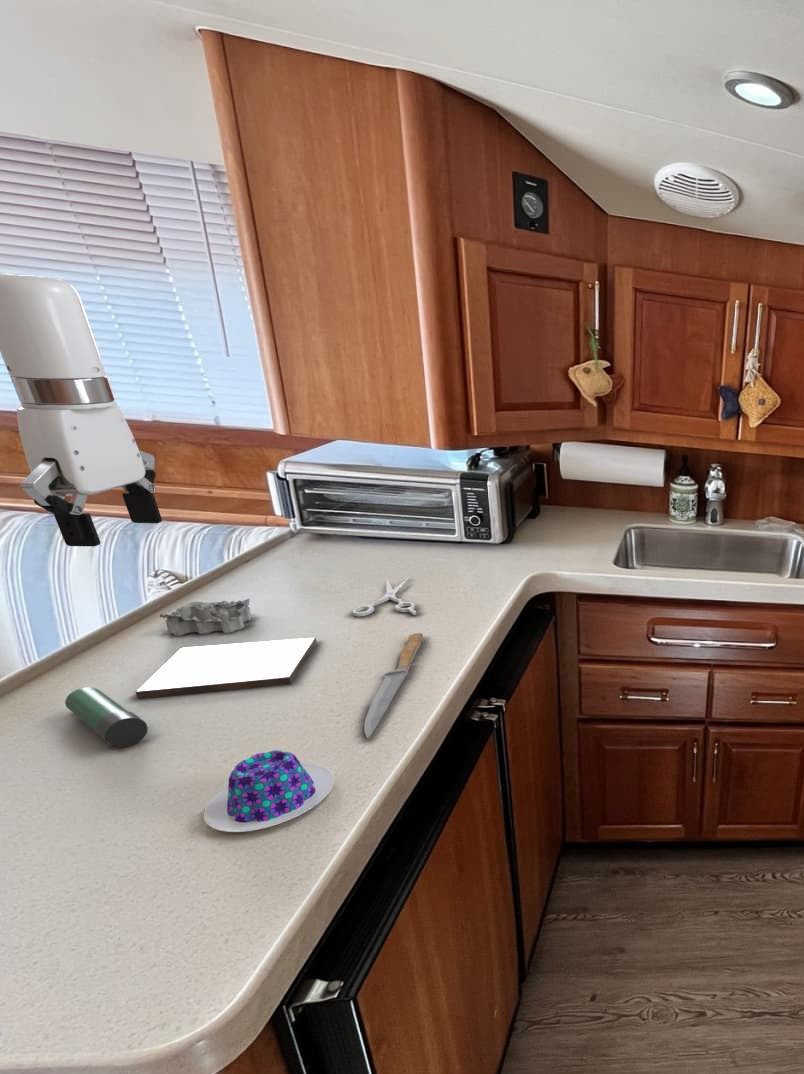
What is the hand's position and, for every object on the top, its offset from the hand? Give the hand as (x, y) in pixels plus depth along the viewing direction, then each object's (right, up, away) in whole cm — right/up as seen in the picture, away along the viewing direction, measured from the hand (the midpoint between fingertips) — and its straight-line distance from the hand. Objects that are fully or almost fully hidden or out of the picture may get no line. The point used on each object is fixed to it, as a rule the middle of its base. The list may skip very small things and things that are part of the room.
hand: (117, 533), depth 80 cm
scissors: (+4, -8, +48) cm, 48 cm away
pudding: (+25, -32, -6) cm, 41 cm away
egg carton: (-17, -13, +31) cm, 38 cm away
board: (-2, -19, +19) cm, 27 cm away
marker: (-6, -25, +4) cm, 26 cm away
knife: (+23, -22, +19) cm, 37 cm away
